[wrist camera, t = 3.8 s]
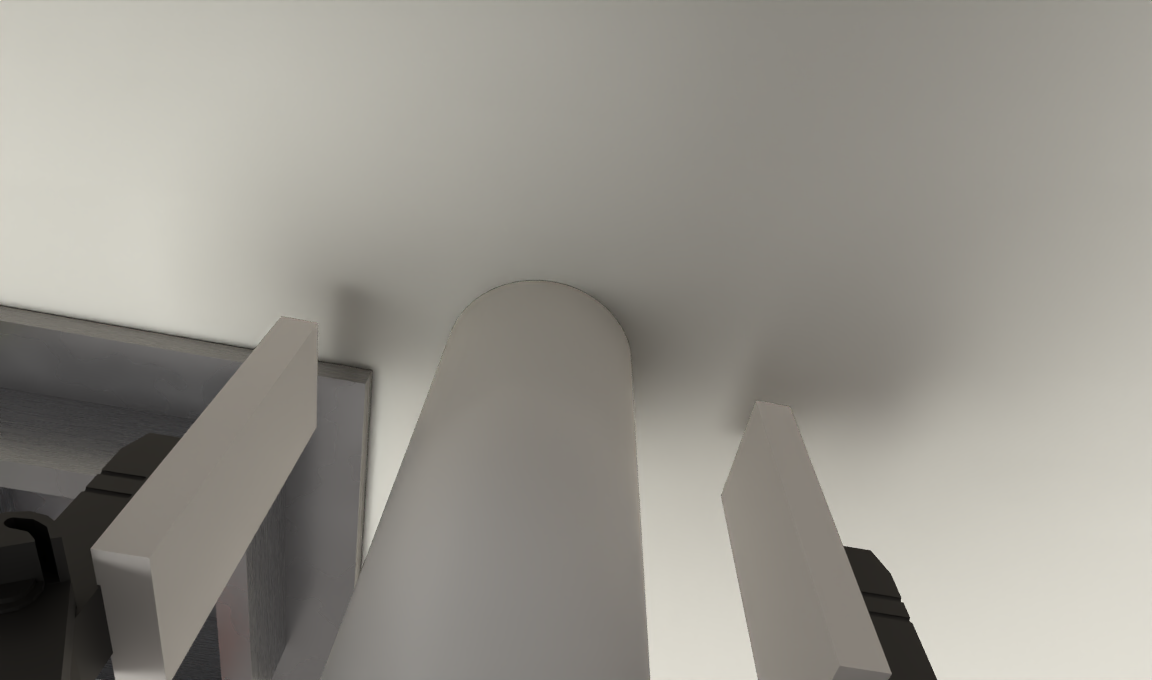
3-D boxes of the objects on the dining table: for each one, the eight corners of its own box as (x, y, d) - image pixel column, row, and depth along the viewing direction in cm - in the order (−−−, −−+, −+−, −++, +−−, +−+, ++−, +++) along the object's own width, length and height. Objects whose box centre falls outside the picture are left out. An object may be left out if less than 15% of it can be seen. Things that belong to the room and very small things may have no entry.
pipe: (456, 264, 17) (212, 825, 6) (650, 299, 17) (721, 894, 7) (438, 422, 19) (233, 1032, 9) (610, 451, 19) (616, 1079, 9)
